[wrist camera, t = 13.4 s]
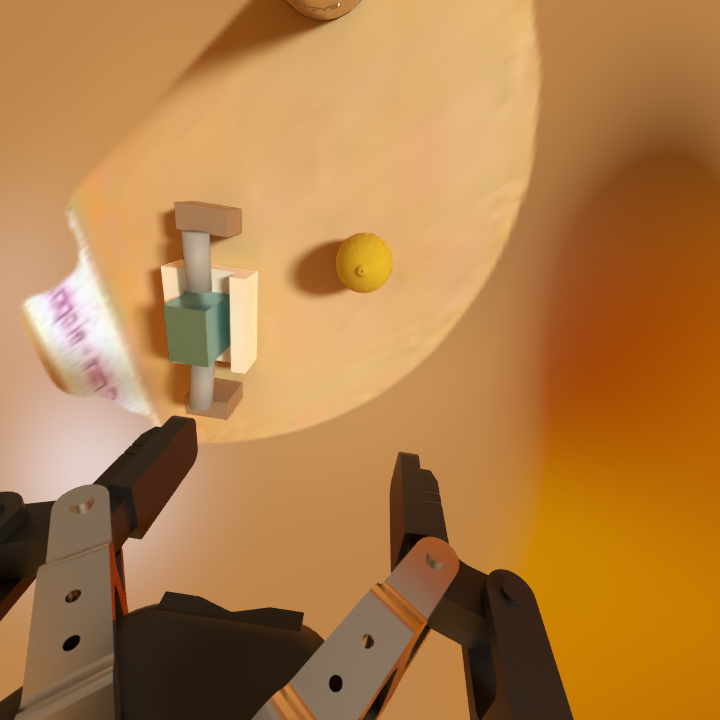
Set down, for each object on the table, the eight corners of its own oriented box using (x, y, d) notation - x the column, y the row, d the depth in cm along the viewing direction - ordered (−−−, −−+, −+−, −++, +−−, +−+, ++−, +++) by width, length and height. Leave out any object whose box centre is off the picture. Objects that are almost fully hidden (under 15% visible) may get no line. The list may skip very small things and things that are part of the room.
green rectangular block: (194, 288, 38) (163, 305, 33) (230, 294, 38) (205, 311, 33) (197, 338, 41) (169, 361, 36) (231, 344, 41) (208, 367, 36)
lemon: (390, 282, 39) (391, 304, 32) (340, 280, 39) (330, 300, 32) (393, 229, 36) (396, 239, 29) (340, 227, 37) (329, 237, 29)
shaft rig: (176, 198, 36) (130, 200, 30) (258, 211, 36) (231, 216, 30) (191, 389, 47) (160, 422, 40) (255, 400, 47) (234, 434, 40)
